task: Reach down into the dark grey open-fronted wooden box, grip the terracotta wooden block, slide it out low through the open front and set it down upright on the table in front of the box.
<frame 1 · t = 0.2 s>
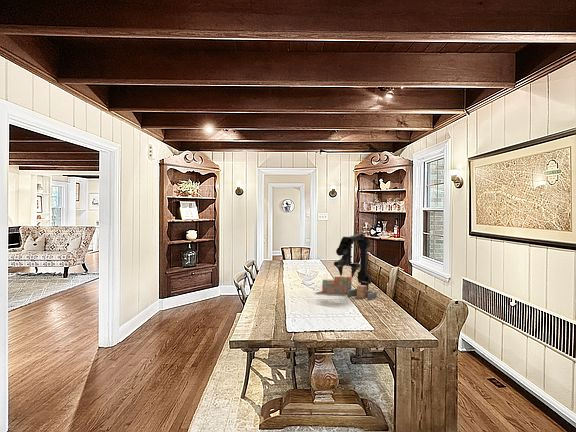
hand: (346, 276, 322), 14 cm above the table, tool pointing down, fingers open, 9 cm apart
open-fronted box: (361, 297, 321), on the table
stack of blocks: (336, 292, 339), on the table
terracotta block: (361, 291, 321), in the open-fronted box
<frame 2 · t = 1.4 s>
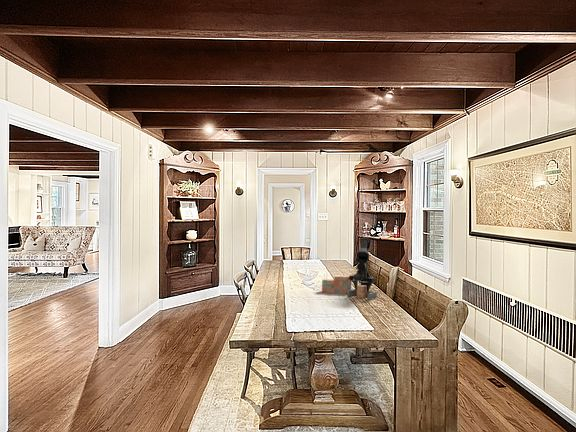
hand: (361, 291, 321), 4 cm above the table, tool pointing down, fingers open, 9 cm apart
nothing on the table moved.
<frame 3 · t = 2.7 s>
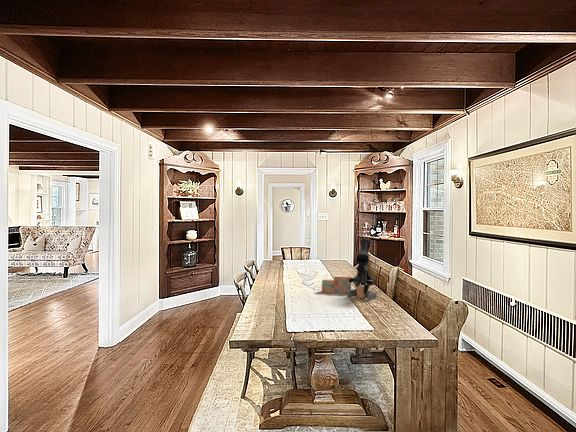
hand: (361, 293, 321), 3 cm above the table, tool pointing down, fingers closed on terracotta block, 5 cm apart
terracotta block: (361, 291, 321), in the open-fronted box, touching gripper
everything else where it was.
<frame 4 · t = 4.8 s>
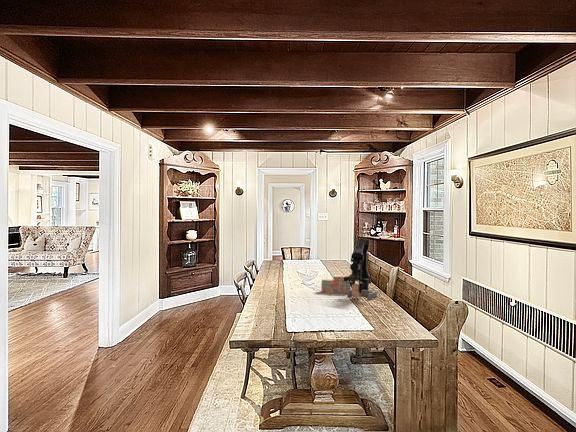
hand: (356, 292, 316), 4 cm above the table, tool pointing down, fingers closed on terracotta block, 5 cm apart
terracotta block: (356, 290, 316), point 6 cm above the table, touching gripper
everything else where it was.
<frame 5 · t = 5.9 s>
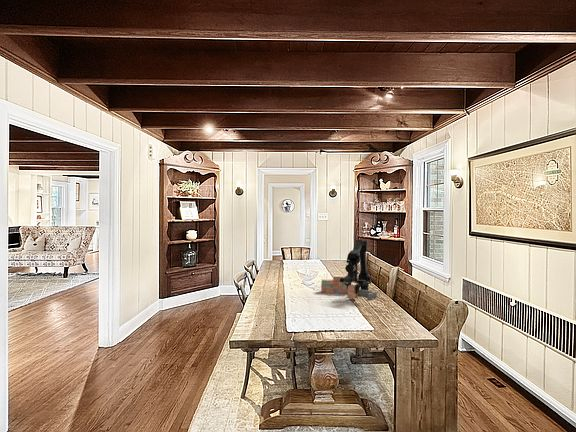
hand: (352, 293, 312), 4 cm above the table, tool pointing down, fingers closed on terracotta block, 5 cm apart
terracotta block: (352, 291, 312), point 5 cm above the table, touching gripper
everything else where it was.
when the fingers open (3 cm above the table, at t = 6.9 s): terracotta block stays where it is, on the table.
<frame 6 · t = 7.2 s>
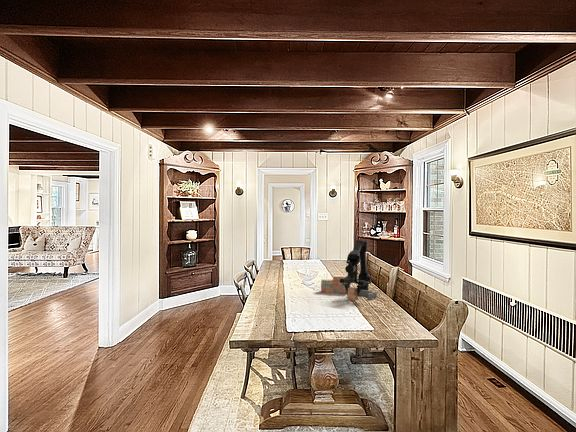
hand: (352, 294, 312), 3 cm above the table, tool pointing down, fingers open, 8 cm apart
terracotta block: (352, 293, 312), on the table
everything else where it was.
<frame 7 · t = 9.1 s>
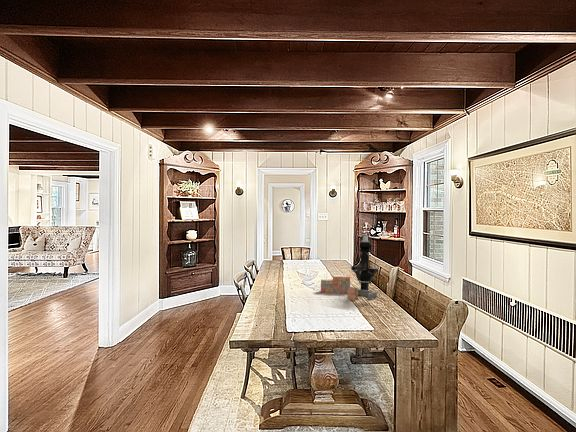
hand: (364, 281, 319), 11 cm above the table, tool pointing down, fingers open, 9 cm apart
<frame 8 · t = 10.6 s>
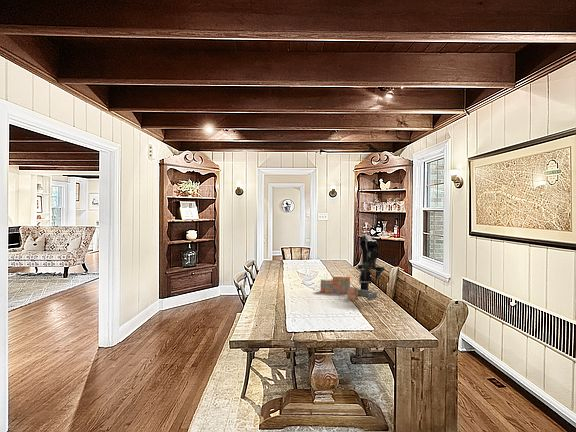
hand: (370, 280, 322), 12 cm above the table, tool pointing down, fingers open, 9 cm apart
at the end: terracotta block inside the target area (0.9 cm from its centre), on the table; terracotta block tilted 0°; the gripper is holding nothing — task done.
